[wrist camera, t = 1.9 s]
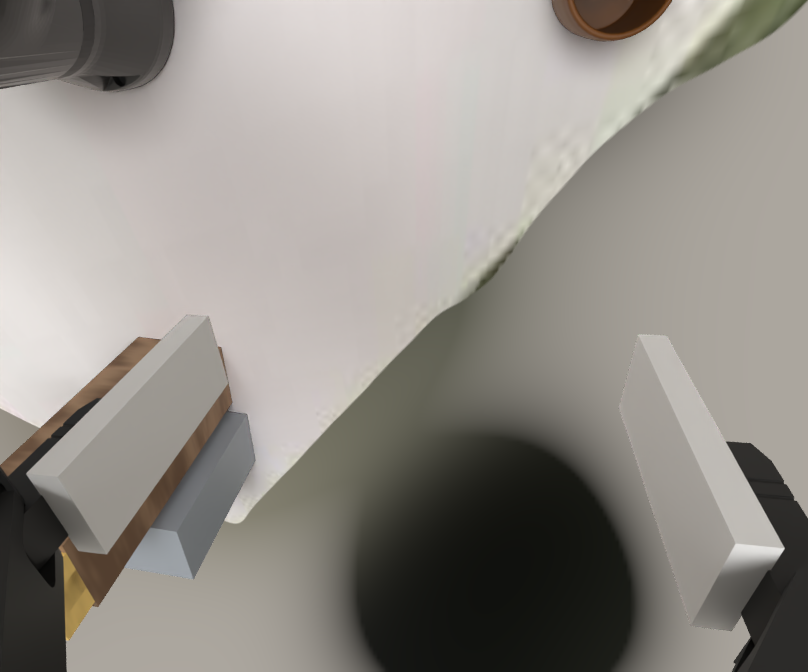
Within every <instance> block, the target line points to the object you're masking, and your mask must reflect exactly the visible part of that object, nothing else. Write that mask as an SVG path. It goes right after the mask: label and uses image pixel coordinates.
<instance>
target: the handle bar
mask: <svg viewBox="0 0 808 672" xmlns="http://www.w3.org/2000/svg"><path fill="white" fill-rule="evenodd" d="M61 553H62V556H63V562H64V597H65V633H66V640H70V638H71V637H72V635H73V634H74V632H75V631H76V629H77V628H78V626H79V625H80V623H81V622H82V620H83V619H84V617H85V616H86V614H87V613H88V611H89V610H90V608H91V607H92V605H93V604H94V602H95V601H94V599H93V598H92V596H91V594H90V592H89V591H88V589H87V587H86V586H85V584H84V582H83V581H82V579H81V577H80V576H79V574H78V572H77V570H76V569H75V567H74V565H73V564H72V562H71V560H70V559H69V557H68V555H67V553H63V552H61Z"/></svg>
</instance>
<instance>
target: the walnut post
mask: <svg viewBox="0 0 808 672" xmlns="http://www.w3.org/2000/svg"><path fill="white" fill-rule="evenodd" d="M160 341H161V340H158V339H150V338H142V337H138V338H137V339H136V340H135V341H134V342H132V343H131V344H130V345H129V346H128V347H127V348H126V349H125V350H124V351H123V352H122V353H121V354H119V355H118V356H117V357H116V358H115V359H114V360H113V361H112V362H111V363H110V364H109V365H108V366H107V367H105V368H104V369H103V370H102V371H101V372H100V373H99V374H98V375H97V376H96V377H95V378H94V379H93V380H91V381H90V382H89V383H88V384H87V385H86V386H85V387H84V388H83V389H82V390H81V391H80V392H79V393H77V394H76V395H75V396H74V397H73V398H72V399H71V400H70V401H69V402H68V403H67V404H66V405H65V406H63V407H62V408H61V409H60V410H59V411H58V412H57V413H56V414H55V415H54V416H53V417H52V418H51V419H49V420H48V421H47V422H46V423H45V424H44V425H43V426H42V427H41V428H40V429H39V430H38V431H37V432H36V433H34V434H33V435H32V436H31V437H30V438H29V439H28V440H27V441H26V442H25V443H24V444H23V445H21V446H20V447H19V448H18V449H17V450H16V451H15V452H14V453H13V454H12V455H11V456H10V457H9V458H7V459H6V460H5V461H4V462H3V463H2V464H1V465H0V466H1V468H2V469H3V471H4V472H5V474H6V475H7V476H9V475H10V474H11V473H12V472H13V471H14V470H15V469H16V468H17V467H18V466H19V465H20V464H21V463H22V462H23V461H25V460H26V459H27V458H28V457H29V456H30V455H31V454H32V453H33V452H34V451H35V450H36V449H37V448H38V447H39V446H40V445H41V444H42V443H43V442H44V441H45V440H46V439H48V438H51V435H52V434H53V433H54V432H55V431H56V430H57V429H58V428H59V427H62V426H63V423H64V422H65V421H66V420H67V419H68V418H69V417H71V416H72V415H73V414H74V413H75V412H76V411H77V410H78V409H80V408H81V407H83V406H85V405H86V404H88V403H90V402H91V401H93V400H94V399H96V398H103V397H104V396H105V395H106V394H107V393H108V392H109V391H110V390H111V389H112V388H113V387H114V386H115V385H116V384H117V383H118V382H119V381H120V380H121V379H122V378H123V377H124V376H125V375H126V374H127V373H128V372H129V371H130V370H131V369H132V368H133V367H134V366H135V365H136V364H137V363H138V362H139V361H140V360H141V359H142V358H143V357H144V356H145V355H146V354H147V353H148V352H150V351H151V350H152V349H153V348H154V347H155V346H156V345H157V344H158V343H159V342H160ZM218 349H219V353H220V356H221V359H222V363H223V366H224V369H225V365H224V360H223V355H222V350H221V347H218ZM225 373H226V370H225ZM226 376H227V375H226ZM231 403H232V399H231V394H230V389H229V384H227V386H226V387H225V389H224V390H223V392H222V393H221V394H220V396H219V397H218V399H217V400H216V401H215V403H214V404H213V406H212V407H211V408H210V410H209V411H208V413H207V414H206V415H205V417H204V418H203V420H202V421H201V422H200V424H199V425H198V427H197V428H196V430H195V431H194V432H193V434H192V435H191V437H190V438H189V439H188V441H187V442H186V444H185V445H184V446H183V448H182V449H181V451H180V452H179V453H178V455H177V456H176V458H175V459H174V460H173V462H172V463H171V465H170V466H169V468H168V469H167V470H166V472H165V473H164V475H163V476H162V477H161V479H160V480H159V482H158V483H157V484H156V486H155V487H154V489H153V490H152V491H151V493H150V494H149V496H148V497H147V498H146V500H145V501H144V503H143V504H142V506H141V507H140V508H139V510H138V511H137V513H136V514H135V515H134V517H133V518H132V520H131V521H130V522H129V524H128V525H127V527H126V528H125V529H124V531H123V532H122V534H121V535H120V536H119V538H118V539H117V541H116V542H115V544H114V545H113V546H112V548H111V549H110V551H109V552H108V553H107V554H98V553H90V552H82V551H78V550H77V548H76V547H75V545H74V544H73V542H72V541H71V539H70V538H69V537H67V538H66V539H65V541H64V542H63V543H62V544H61V545H60V547H59V549H60V551H61V552H63V553H67V555H68V557H69V559H70V560H71V562H72V564H73V565H74V567H75V569H76V570H77V572H78V574H79V576H80V577H81V579H82V581H83V582H84V584H85V586H86V587H87V589H88V591H89V592H90V594H91V596H92V598H93V599H94V601H95V602H94V604H93V605H92V606H95V607H98V606H99V605H100V603H101V602H102V600H103V599H104V597H105V596H106V594H107V593H108V591H109V590H110V588H111V586H112V585H113V584H114V582H115V580H116V579H117V577H118V576H119V574H120V573H121V571H122V570H123V568H124V567H125V565H126V564H127V562H128V561H129V559H130V558H131V556H132V555H133V553H134V552H135V550H136V548H137V547H138V545H139V544H140V542H141V541H142V539H143V538H144V536H145V535H146V533H147V532H148V530H149V529H150V527H151V526H152V524H153V523H154V521H155V519H156V518H157V516H158V515H159V513H160V512H161V510H162V509H163V507H164V506H165V504H166V503H167V501H168V500H169V498H170V497H171V495H172V494H173V492H174V490H175V489H176V487H177V486H178V484H179V483H180V481H181V480H182V478H183V477H184V475H185V474H186V472H187V471H188V469H189V468H190V466H191V465H192V463H193V461H194V460H195V458H196V457H197V455H198V454H199V452H200V451H201V449H202V448H203V446H204V445H205V443H206V442H207V440H208V439H209V437H210V436H211V434H212V432H213V431H214V429H215V428H216V426H217V425H218V423H219V422H220V420H221V419H222V417H223V416H224V414H225V413H226V411H227V410H228V408H229V407H230V405H231Z"/></svg>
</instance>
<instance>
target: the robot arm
mask: <svg viewBox="0 0 808 672" xmlns="http://www.w3.org/2000/svg"><path fill="white" fill-rule="evenodd" d="M173 34H174V15H173V6H172V1H171V0H0V89H4V88H9V87H15V86H20V85H26V84H31V83H37V82H43V81H48V80H53V79H58V80H62V81H65V82H68V83H72V84H75V85H79V86H82V87H85V88H89V89H92V90H97V91H107V92H114V91H122V90H127V89H132V88H136V87H139V86H142V85H144V84H146V83H147V82H149V81H150V80H152V79H153V78H154V77H155V76H156V75H157V74H158V73H159V72H160V71H161V69H162V68H163V66H164V65H165V63H166V61H167V59H168V56H169V53H170V50H171V46H172V42H173ZM228 383H229V382H228V379H227V376H226V373H225V369H224V366H223V363H222V359H221V356H220V353H219V349H218V346H217V343H216V339H215V336H214V333H213V329H212V326H211V323H210V319H209V316H200V315H186V316H185V317H184V318H183V319H182V320H181V321H180V322H179V323H178V324H177V325H176V326H175V327H174V328H173V329H172V330H171V331H170V332H169V333H168V334H167V335H166V336H165V337H164V338H163V339H162V340H161V341H160V342H159V343H158V344H157V345H156V346H155V347H154V348H153V349H152V350H151V351H150V352H148V353H147V354H146V355H145V356H144V357H143V358H142V359H141V360H140V361H139V362H138V363H137V364H136V365H135V366H134V367H133V368H132V369H131V370H130V371H129V372H128V373H127V374H126V375H125V376H124V377H123V378H122V379H121V380H120V381H119V382H118V383H117V384H116V385H115V386H114V387H113V388H112V389H111V390H110V391H109V392H108V393H107V394H106V395H105V396H104V397H103V398H96V399H94V400H93V401H91V402H90V403H88V404H86V405H85V406H83V407H81V408H80V409H78V410H77V411H76V412H75V413H74V414H73V415H72V416H71V417H69V418H68V419H67V420H66V421H65V422H64V423H63V426H62V427H59V428H58V429H57V430H56V431H55V432H54V433H53V434H52V435H51V438H48V439H46V440H45V441H44V442H43V443H42V444H41V445H40V446H39V447H38V448H37V449H36V450H35V451H34V452H33V453H32V454H31V455H30V456H29V457H28V458H27V459H26V460H25V461H23V462H22V463H21V464H20V465H19V466H18V467H17V468H16V469H15V470H14V471H13V472H12V473H11V474H10V475H9V476H7V475H6V474H5V472H4V471H3V469H2V468H1V466H0V672H67V670H66V633H65V597H64V562H63V556H62V553H61V551H60V549H59V547H60V545H61V544H62V543H63V542H64V541H65V539H66V538H67V537H69V538H70V539H71V541H72V542H73V544H74V545H75V547H76V548H77V550H78V551H82V552H90V553H98V554H107V553H108V552H109V551H110V549H111V548H112V546H113V545H114V544H115V542H116V541H117V539H118V538H119V536H120V535H121V534H122V532H123V531H124V529H125V528H126V527H127V525H128V524H129V522H130V521H131V520H132V518H133V517H134V515H135V514H136V513H137V511H138V510H139V508H140V507H141V506H142V504H143V503H144V501H145V500H146V498H147V497H148V496H149V494H150V493H151V491H152V490H153V489H154V487H155V486H156V484H157V483H158V482H159V480H160V479H161V477H162V476H163V475H164V473H165V472H166V470H167V469H168V468H169V466H170V465H171V463H172V462H173V460H174V459H175V458H176V456H177V455H178V453H179V452H180V451H181V449H182V448H183V446H184V445H185V444H186V442H187V441H188V439H189V438H190V437H191V435H192V434H193V432H194V431H195V430H196V428H197V427H198V425H199V424H200V422H201V421H202V420H203V418H204V417H205V415H206V414H207V413H208V411H209V410H210V408H211V407H212V406H213V404H214V403H215V401H216V400H217V399H218V397H219V396H220V394H221V393H222V392H223V390H224V389H225V387H226V386H227V384H228ZM619 410H620V413H621V416H622V419H623V422H624V425H625V428H626V431H627V435H628V438H629V441H630V443H631V446H632V450H633V453H634V456H635V459H636V462H637V464H638V468H639V471H640V474H641V477H642V480H643V483H644V486H645V489H646V492H647V495H648V498H649V501H650V504H651V507H652V510H653V513H654V516H655V520H656V523H657V526H658V528H659V532H660V535H661V538H662V541H663V544H664V547H665V550H666V553H667V556H668V559H669V562H670V565H671V568H672V571H673V574H674V577H675V580H676V583H677V586H678V589H679V592H680V595H681V598H682V601H683V605H684V607H685V610H686V613H687V617H688V620H689V623H690V626H695V627H702V628H710V629H719V630H727V631H732V630H733V628H734V626H735V625H736V623H737V622H738V620H739V619H740V617H741V616H742V617H743V619H744V622H745V624H746V626H747V629H748V631H749V633H750V636H751V637H750V639H749V640H748V642H747V643H746V645H745V646H744V647H743V649H742V650H741V652H740V653H739V655H738V656H737V657H736V659H735V660H734V663H735V666H734V668H733V671H732V672H808V518H807V516H806V515H805V513H804V512H803V510H802V509H801V507H800V505H799V504H798V502H797V501H794V496H793V494H792V493H791V491H790V490H789V488H788V486H787V485H786V484H784V480H783V479H782V477H781V475H780V474H779V472H778V471H777V469H776V467H775V466H774V464H773V463H772V461H771V460H770V459H768V458H767V457H766V456H765V455H764V454H763V453H762V452H760V451H759V450H758V449H757V448H756V447H754V446H753V445H752V444H751V443H739V442H726V441H725V440H724V438H723V436H722V435H721V432H720V431H719V429H718V428H717V425H716V423H715V422H714V420H713V418H712V416H711V414H710V413H709V411H708V409H707V407H706V405H705V404H704V402H703V400H702V398H701V396H700V395H699V393H698V391H697V389H696V387H695V386H694V384H693V382H692V380H691V378H690V377H689V375H688V373H687V371H686V369H685V367H684V366H683V364H682V362H681V360H680V358H679V357H678V355H677V353H676V351H675V349H674V348H673V346H672V344H671V342H670V341H669V339H668V337H667V336H666V335H643V334H642V335H641V334H638V337H637V341H636V344H635V348H634V352H633V356H632V359H631V363H630V367H629V371H628V375H627V378H626V382H625V386H624V390H623V394H622V397H621V401H620V405H619Z"/></svg>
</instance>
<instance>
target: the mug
mask: <svg viewBox="0 0 808 672" xmlns="http://www.w3.org/2000/svg"><path fill="white" fill-rule="evenodd" d="M671 2H672V0H552V5H553V9H554V11H555V14H556V16H557V18H558V20H559V21H560V22H561V24H562V25H563V26H564V27H565V28H566V29H568V30H569V31H570V32H572V33H574V34H576V35H579V36H582V37H585V38H588V39H592V40H597V41H615V40H620V39H625V38H628V37H631V36H633V35H636V34H638V33H640V32H641V31H643V30H645V29H646V28H648V27H649V26H650V25H652V24H653V23H654V22H655V21H656V20H657V19H658V18H659V17H660V16H661V15H662V14H663V13H664V12H665V10H666V9H667V8H668V6H669V5H670V3H671Z"/></svg>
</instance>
